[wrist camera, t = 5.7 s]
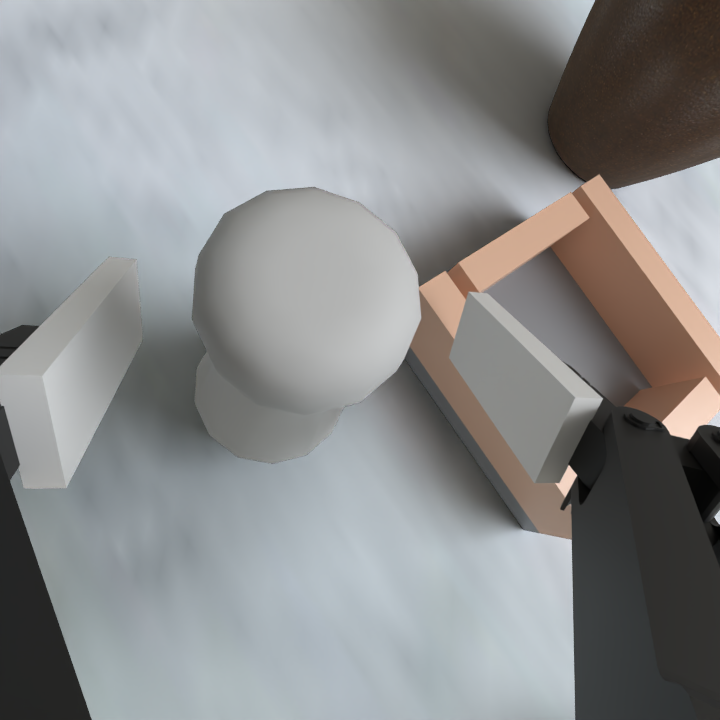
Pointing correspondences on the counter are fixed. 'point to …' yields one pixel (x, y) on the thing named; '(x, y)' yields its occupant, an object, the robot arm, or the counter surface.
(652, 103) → the plant pot
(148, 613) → the counter surface
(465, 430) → the socket board
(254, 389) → the salt shaker
